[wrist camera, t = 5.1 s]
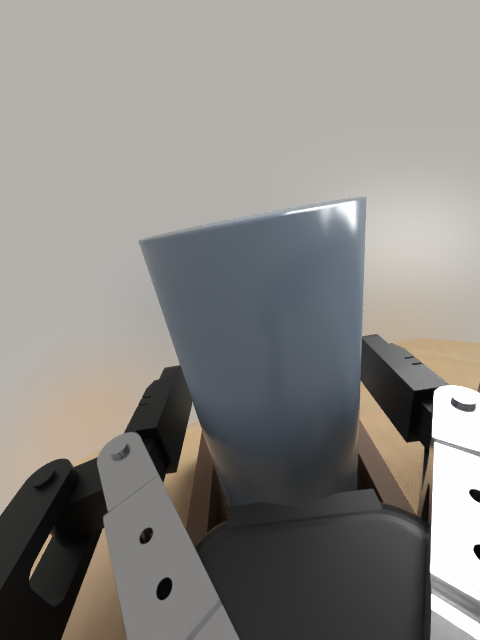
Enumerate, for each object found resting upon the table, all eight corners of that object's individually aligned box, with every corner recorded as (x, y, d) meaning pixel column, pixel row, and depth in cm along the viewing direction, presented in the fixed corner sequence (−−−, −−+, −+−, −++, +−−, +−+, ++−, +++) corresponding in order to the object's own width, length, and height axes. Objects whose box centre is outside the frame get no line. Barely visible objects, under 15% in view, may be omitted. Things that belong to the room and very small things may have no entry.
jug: (317, 424, 19) (302, 203, 13) (380, 592, 11) (436, 188, 4) (237, 434, 20) (184, 227, 13) (238, 606, 11) (87, 255, 5)
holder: (345, 432, 18) (345, 396, 17) (457, 658, 9) (478, 621, 7) (215, 450, 19) (204, 416, 17) (193, 678, 10) (167, 647, 8)
